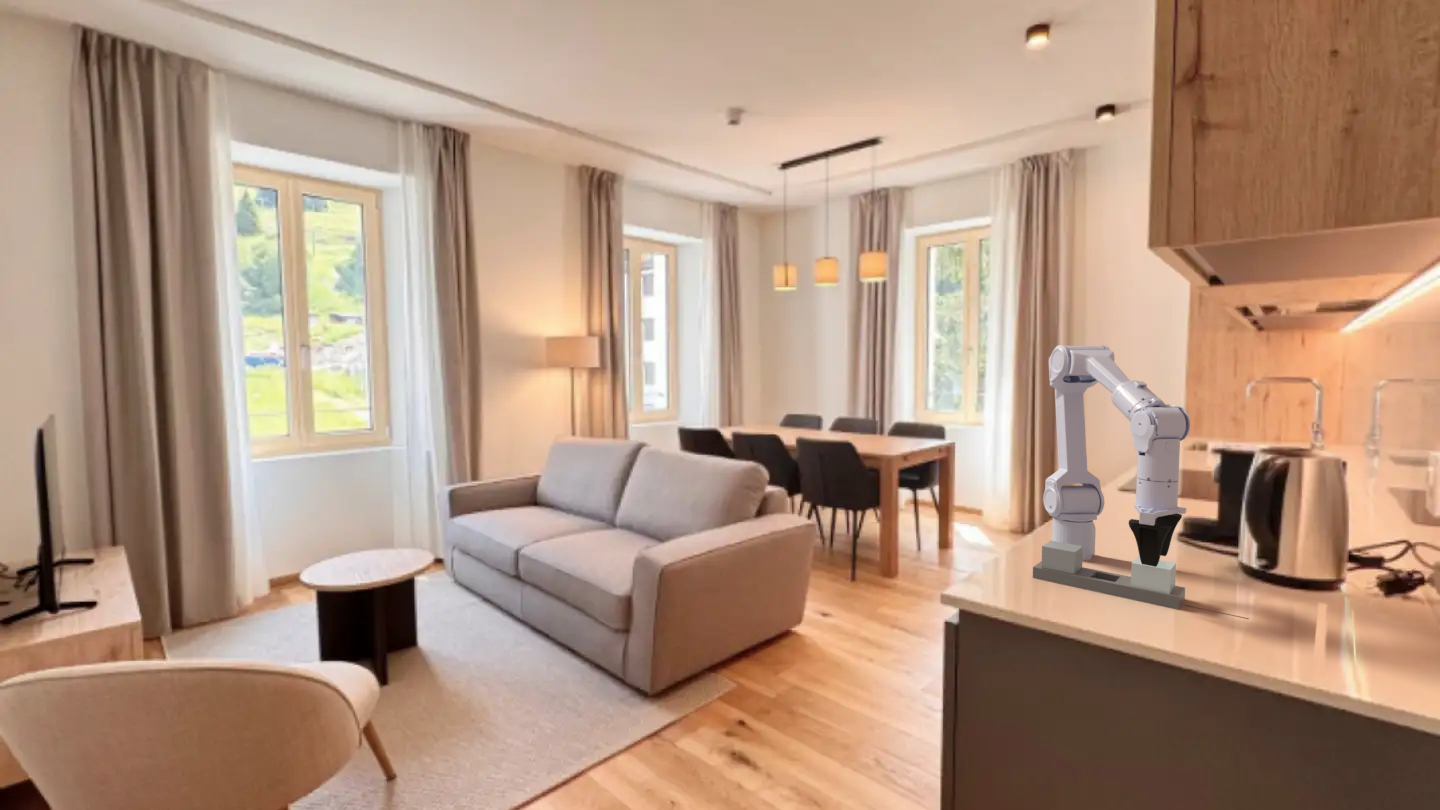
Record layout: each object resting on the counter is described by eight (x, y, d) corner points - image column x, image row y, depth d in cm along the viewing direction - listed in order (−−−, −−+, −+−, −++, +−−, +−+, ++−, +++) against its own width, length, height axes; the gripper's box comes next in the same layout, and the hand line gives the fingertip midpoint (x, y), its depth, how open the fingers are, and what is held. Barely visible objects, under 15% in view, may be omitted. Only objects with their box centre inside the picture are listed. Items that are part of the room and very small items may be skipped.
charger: (1136, 590, 110) (1138, 556, 110) (1174, 598, 107) (1176, 562, 106) (1130, 597, 107) (1131, 562, 107) (1169, 606, 103) (1170, 570, 103)
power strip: (1043, 574, 122) (1044, 538, 121) (1250, 619, 100) (1252, 575, 100) (1032, 582, 117) (1033, 545, 117) (1246, 630, 96) (1248, 585, 96)
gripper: (1178, 488, 98) (1175, 575, 98) (1194, 476, 108) (1191, 555, 109) (1125, 482, 102) (1122, 565, 103) (1145, 471, 113) (1142, 547, 114)
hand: (1154, 559), depth 106 cm, fingers open, 7 cm apart
